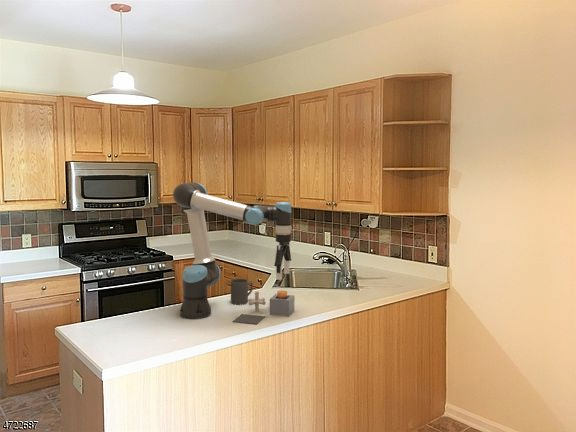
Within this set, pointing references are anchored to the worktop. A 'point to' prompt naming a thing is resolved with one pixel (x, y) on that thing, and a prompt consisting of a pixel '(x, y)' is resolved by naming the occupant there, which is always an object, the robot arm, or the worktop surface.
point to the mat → (248, 319)
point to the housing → (282, 305)
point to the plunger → (282, 294)
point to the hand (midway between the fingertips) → (282, 276)
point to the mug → (240, 291)
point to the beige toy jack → (256, 301)
